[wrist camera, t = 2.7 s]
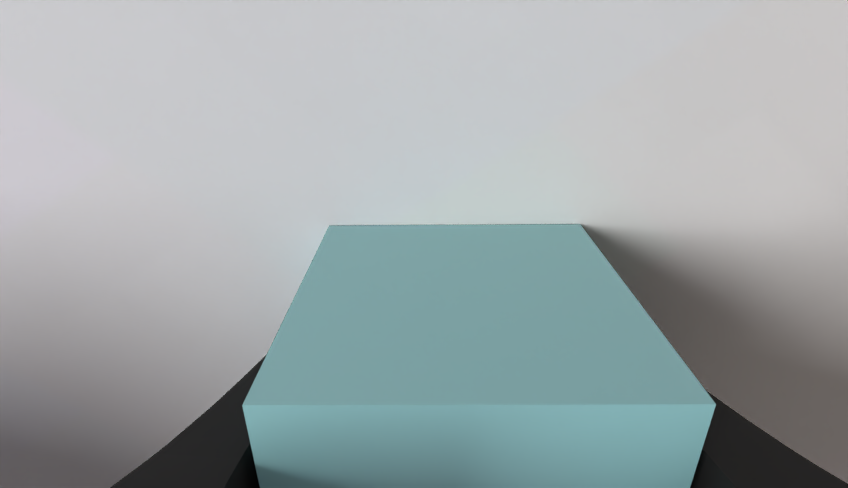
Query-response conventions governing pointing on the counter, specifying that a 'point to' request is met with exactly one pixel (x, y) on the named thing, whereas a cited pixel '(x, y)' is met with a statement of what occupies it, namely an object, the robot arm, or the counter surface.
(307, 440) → the teal cube
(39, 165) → the counter surface
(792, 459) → the robot arm
